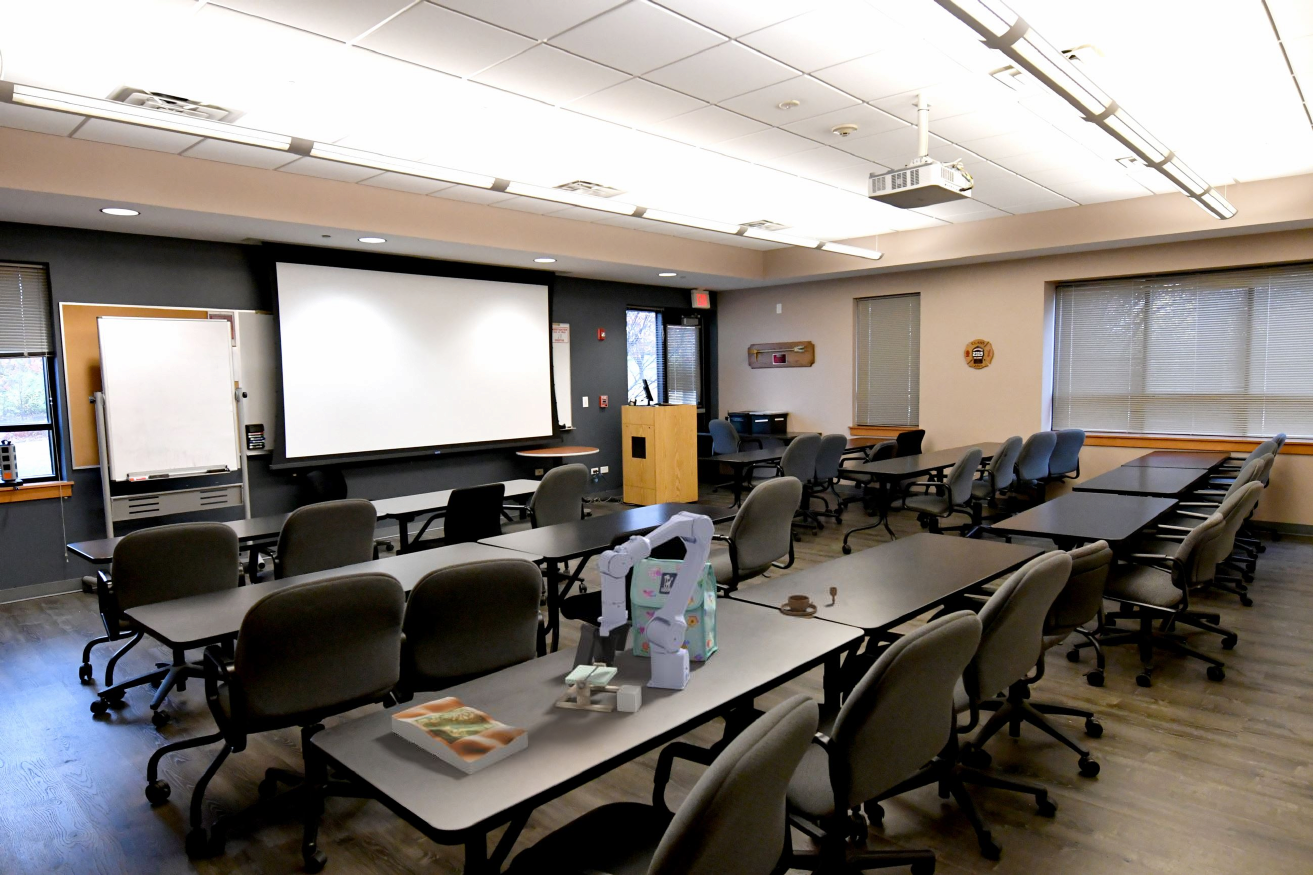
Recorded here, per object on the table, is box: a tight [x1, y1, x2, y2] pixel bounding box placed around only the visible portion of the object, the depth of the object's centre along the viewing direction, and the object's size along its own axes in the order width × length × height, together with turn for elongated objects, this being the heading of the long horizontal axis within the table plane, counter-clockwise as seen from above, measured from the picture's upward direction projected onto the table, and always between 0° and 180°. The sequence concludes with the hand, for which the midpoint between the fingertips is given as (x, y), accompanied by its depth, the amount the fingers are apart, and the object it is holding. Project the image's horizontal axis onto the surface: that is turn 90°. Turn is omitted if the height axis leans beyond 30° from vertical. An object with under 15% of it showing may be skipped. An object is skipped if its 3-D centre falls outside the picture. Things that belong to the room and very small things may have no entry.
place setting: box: [780, 586, 838, 619], centre depth 245 cm, size 18×20×6 cm
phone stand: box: [572, 622, 613, 671], centre depth 201 cm, size 9×6×12 cm, turn 128°
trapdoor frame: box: [555, 662, 622, 713], centre depth 182 cm, size 14×14×7 cm
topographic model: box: [391, 696, 529, 775], centre depth 163 cm, size 30×14×5 cm, turn 49°
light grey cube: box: [616, 684, 642, 713], centre depth 176 cm, size 4×4×4 cm
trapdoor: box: [564, 665, 618, 688], centre depth 182 cm, size 10×9×2 cm
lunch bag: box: [629, 557, 719, 662], centre depth 210 cm, size 23×16×27 cm
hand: (614, 656), depth 181 cm, fingers open, 7 cm apart
